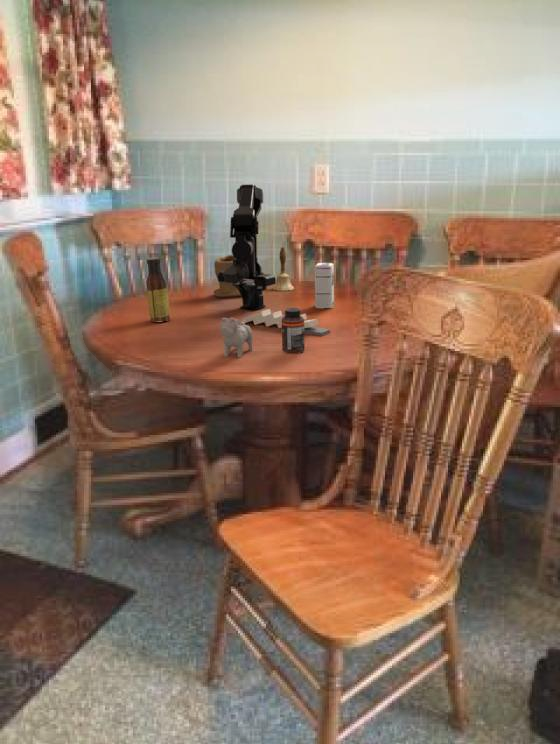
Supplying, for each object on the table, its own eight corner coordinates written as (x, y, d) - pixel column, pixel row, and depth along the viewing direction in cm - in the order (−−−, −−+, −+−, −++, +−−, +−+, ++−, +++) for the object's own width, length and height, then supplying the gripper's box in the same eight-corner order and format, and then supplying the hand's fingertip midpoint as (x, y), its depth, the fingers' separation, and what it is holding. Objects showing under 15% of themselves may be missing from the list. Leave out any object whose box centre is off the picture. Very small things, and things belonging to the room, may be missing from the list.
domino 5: (287, 325, 195) (307, 321, 189) (296, 322, 198) (317, 318, 192) (288, 330, 195) (309, 327, 189) (298, 327, 198) (318, 324, 193)
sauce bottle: (173, 319, 211) (169, 257, 205) (164, 324, 206) (159, 260, 199) (155, 318, 213) (150, 256, 207) (145, 322, 208) (140, 259, 201)
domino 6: (298, 328, 193) (321, 332, 188) (307, 325, 196) (330, 329, 191) (298, 334, 193) (321, 338, 189) (307, 330, 196) (330, 334, 192)
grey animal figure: (216, 360, 169) (213, 319, 165) (237, 346, 180) (235, 308, 176) (234, 362, 167) (232, 321, 163) (255, 348, 178) (253, 310, 174)
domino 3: (264, 321, 200) (285, 314, 195) (273, 318, 203) (293, 311, 198) (266, 326, 200) (286, 319, 195) (274, 323, 203) (294, 316, 198)
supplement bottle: (281, 348, 177) (280, 307, 174) (303, 347, 178) (302, 306, 174) (283, 354, 172) (282, 312, 168) (305, 353, 172) (305, 311, 169)
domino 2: (252, 320, 202) (272, 313, 197) (261, 317, 206) (280, 310, 201) (254, 325, 202) (274, 318, 197) (263, 322, 206) (282, 315, 201)
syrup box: (332, 308, 221) (332, 265, 216) (314, 308, 222) (314, 265, 218) (334, 305, 226) (334, 262, 222) (317, 304, 227) (317, 262, 223)
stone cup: (215, 300, 237) (212, 258, 232) (212, 294, 248) (210, 254, 244) (256, 298, 240) (255, 256, 235) (252, 292, 251) (251, 252, 246)
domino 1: (242, 318, 204) (261, 311, 199) (250, 315, 208) (269, 308, 203) (243, 323, 205) (262, 316, 200) (252, 320, 208) (271, 313, 203)
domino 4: (277, 323, 197) (296, 316, 192) (286, 320, 201) (305, 313, 195) (278, 328, 197) (298, 321, 192) (288, 325, 201) (307, 318, 195)
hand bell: (271, 287, 258) (270, 246, 253) (292, 286, 259) (292, 245, 254) (273, 291, 250) (272, 249, 245) (295, 290, 251) (294, 248, 246)
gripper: (204, 256, 199) (207, 307, 204) (253, 261, 189) (254, 314, 194) (228, 251, 208) (230, 300, 213) (276, 256, 197) (277, 307, 202)
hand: (247, 305), depth 205 cm, fingers closed
